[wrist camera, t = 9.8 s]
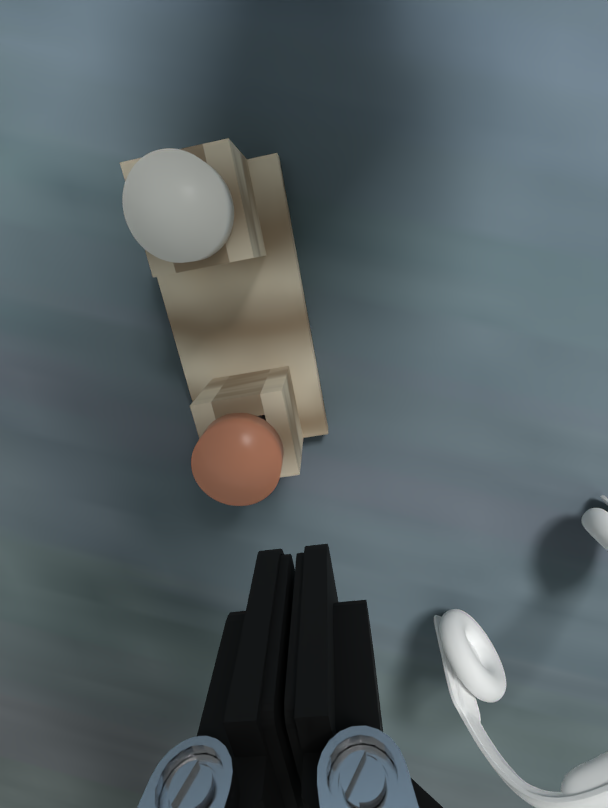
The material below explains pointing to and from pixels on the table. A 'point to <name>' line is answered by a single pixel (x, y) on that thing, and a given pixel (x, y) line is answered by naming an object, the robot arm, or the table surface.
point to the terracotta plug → (238, 459)
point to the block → (246, 310)
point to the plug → (177, 206)
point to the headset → (485, 679)
